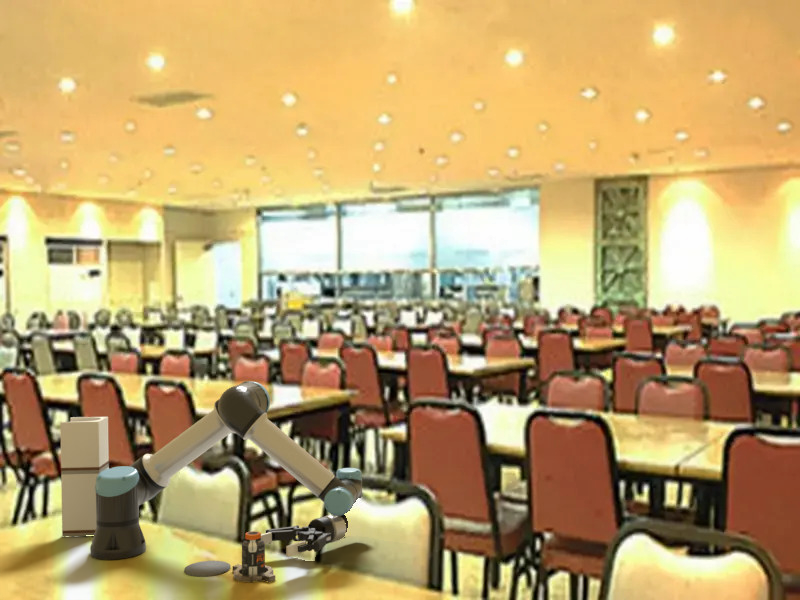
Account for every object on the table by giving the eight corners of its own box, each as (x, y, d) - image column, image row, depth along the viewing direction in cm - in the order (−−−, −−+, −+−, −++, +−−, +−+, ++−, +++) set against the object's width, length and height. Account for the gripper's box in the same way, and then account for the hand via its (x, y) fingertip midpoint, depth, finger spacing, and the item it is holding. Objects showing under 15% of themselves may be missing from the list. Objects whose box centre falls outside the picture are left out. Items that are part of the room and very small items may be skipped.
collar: (220, 575, 237) (220, 569, 237) (249, 565, 244) (249, 560, 244) (257, 586, 227) (257, 581, 227) (286, 576, 235) (286, 571, 235)
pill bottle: (260, 580, 232) (259, 536, 232) (238, 579, 233) (237, 535, 233) (268, 573, 238) (267, 530, 238) (247, 571, 239) (246, 529, 239)
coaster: (175, 570, 241) (175, 568, 241) (211, 559, 250) (211, 558, 250) (203, 579, 233) (203, 577, 233) (239, 568, 242) (239, 566, 242)
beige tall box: (109, 527, 286) (108, 416, 286) (100, 536, 276) (98, 421, 275) (73, 528, 286) (71, 417, 285) (62, 537, 275) (60, 422, 274)
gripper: (295, 510, 264) (238, 525, 248) (358, 523, 248) (302, 540, 232) (295, 535, 264) (239, 552, 248) (358, 550, 248) (302, 570, 232)
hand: (269, 546), depth 240 cm, fingers open, 13 cm apart
